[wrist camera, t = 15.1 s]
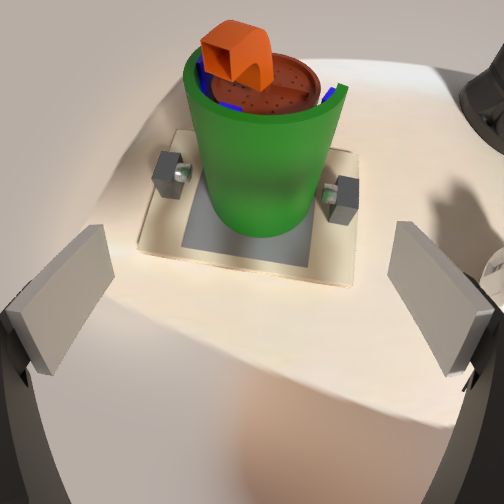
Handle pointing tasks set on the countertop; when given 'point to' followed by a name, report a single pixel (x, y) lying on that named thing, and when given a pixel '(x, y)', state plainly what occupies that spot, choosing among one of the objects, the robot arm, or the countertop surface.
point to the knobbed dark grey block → (171, 175)
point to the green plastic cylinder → (258, 128)
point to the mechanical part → (494, 278)
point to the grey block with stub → (341, 199)
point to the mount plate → (245, 247)
